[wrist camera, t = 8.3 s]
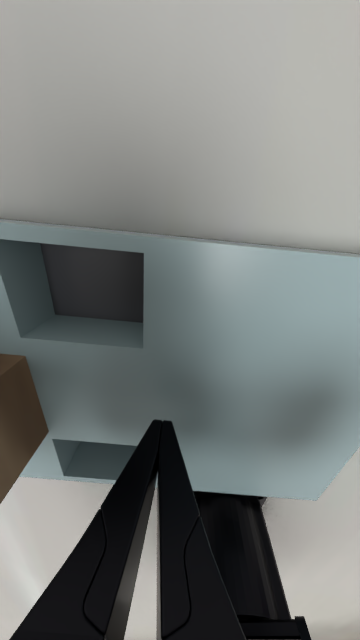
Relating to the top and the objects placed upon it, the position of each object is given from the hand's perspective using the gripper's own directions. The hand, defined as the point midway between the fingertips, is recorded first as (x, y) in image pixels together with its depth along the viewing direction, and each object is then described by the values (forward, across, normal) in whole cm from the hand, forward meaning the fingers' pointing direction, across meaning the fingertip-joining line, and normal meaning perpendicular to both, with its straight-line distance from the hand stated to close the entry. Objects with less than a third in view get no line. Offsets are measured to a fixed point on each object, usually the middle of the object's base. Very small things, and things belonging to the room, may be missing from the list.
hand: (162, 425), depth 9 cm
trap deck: (+3, +1, 0) cm, 4 cm away
